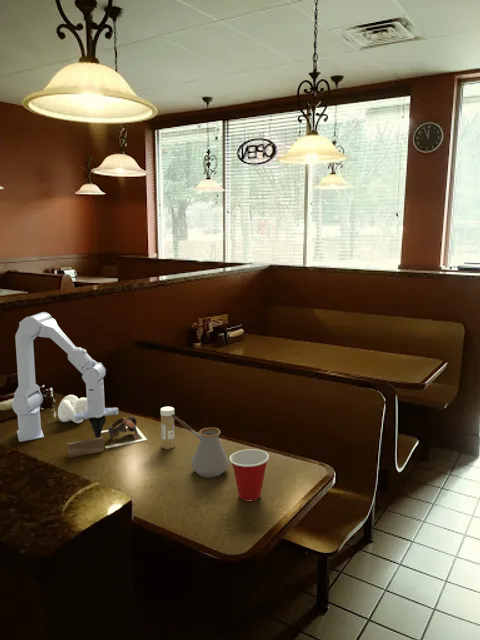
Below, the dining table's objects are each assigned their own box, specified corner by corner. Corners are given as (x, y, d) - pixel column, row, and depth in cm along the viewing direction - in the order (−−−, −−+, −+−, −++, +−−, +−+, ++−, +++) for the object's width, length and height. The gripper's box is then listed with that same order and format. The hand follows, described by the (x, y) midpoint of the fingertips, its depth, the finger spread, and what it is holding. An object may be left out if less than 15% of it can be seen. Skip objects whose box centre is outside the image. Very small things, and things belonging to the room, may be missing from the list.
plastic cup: (245, 482, 150) (246, 443, 148) (276, 494, 144) (277, 454, 141) (221, 497, 142) (221, 456, 140) (252, 511, 136) (252, 468, 133)
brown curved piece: (135, 446, 175) (121, 427, 173) (114, 453, 179) (100, 435, 176) (148, 424, 185) (135, 406, 183) (128, 432, 189) (115, 414, 187)
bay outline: (96, 432, 184) (96, 432, 184) (135, 425, 191) (135, 424, 191) (105, 448, 172) (105, 447, 172) (147, 440, 178) (147, 439, 178)
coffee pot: (236, 469, 158) (236, 423, 155) (213, 485, 149) (213, 436, 146) (183, 451, 170) (182, 408, 167) (159, 464, 161) (157, 419, 158)
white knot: (84, 411, 204) (82, 390, 203) (97, 421, 195) (95, 398, 193) (55, 418, 197) (53, 396, 195) (67, 428, 188) (66, 405, 186)
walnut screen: (68, 456, 166) (67, 443, 165) (102, 449, 171) (102, 436, 170) (69, 457, 165) (68, 444, 164) (103, 450, 170) (103, 438, 169)
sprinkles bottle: (175, 449, 172) (174, 410, 169) (161, 449, 171) (160, 411, 169) (175, 443, 176) (174, 405, 174) (161, 443, 176) (160, 406, 173)
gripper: (75, 406, 168) (78, 445, 171) (120, 399, 174) (121, 437, 177) (71, 400, 174) (74, 437, 177) (114, 393, 181) (116, 430, 183)
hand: (97, 437), depth 177 cm, fingers closed
